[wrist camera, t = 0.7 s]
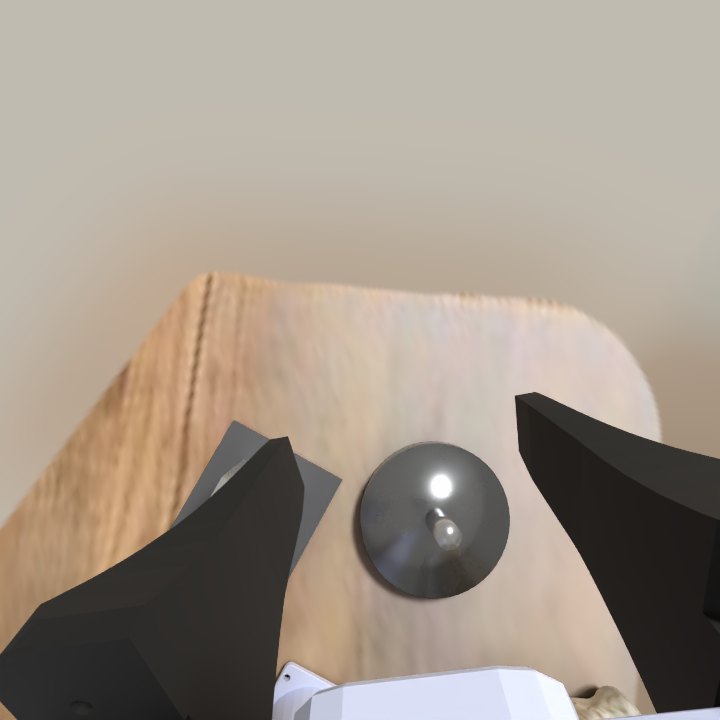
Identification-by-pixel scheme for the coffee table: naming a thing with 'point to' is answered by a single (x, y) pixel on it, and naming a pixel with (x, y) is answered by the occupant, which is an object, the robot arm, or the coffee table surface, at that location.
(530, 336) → the coffee table surface
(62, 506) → the coffee table surface
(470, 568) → the hub
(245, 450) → the mat
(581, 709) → the ceramic sculpture
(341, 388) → the coffee table surface
